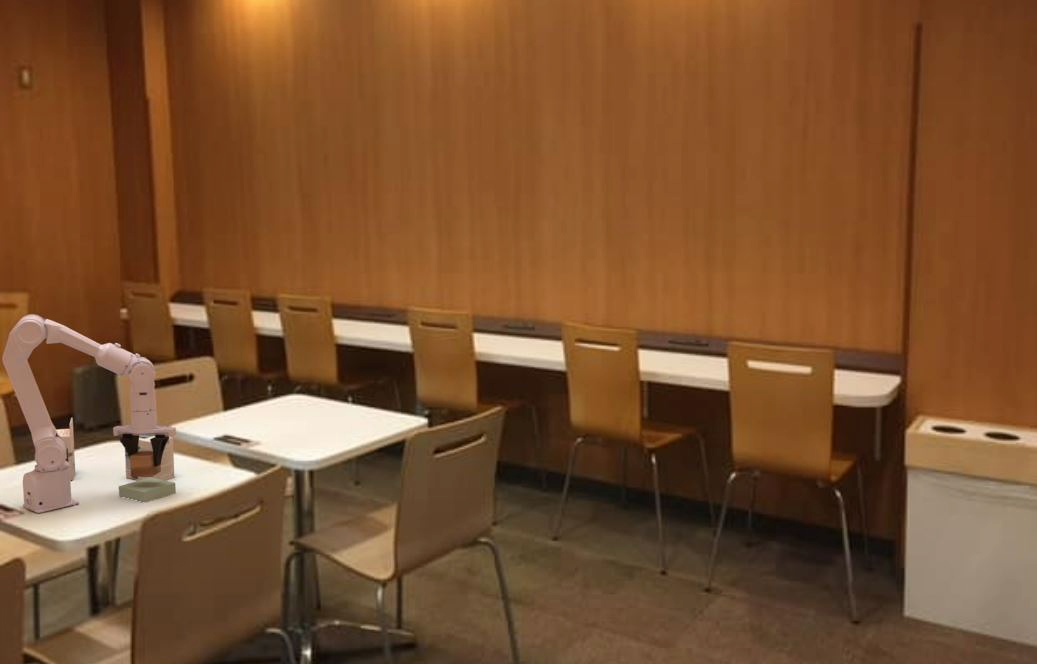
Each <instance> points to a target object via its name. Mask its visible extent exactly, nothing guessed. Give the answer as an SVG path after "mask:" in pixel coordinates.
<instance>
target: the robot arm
mask: <svg viewBox="0 0 1037 664" xmlns="http://www.w3.org/2000/svg"><path fill="white" fill-rule="evenodd" d="M45 339H46V344H47V345H50V344H59V343H61V344H64V345H66V346H68V347H70V348H73V349H75V350H77V351H79V352H82V353H84V354H87V355H89V356H92V357H94V360H95V362H96V364H97V366H99V367H102V368H103V369H106V370H109V371H111V372H112V373H115V374H117V375H119V376H121V377H128V379H129V381H130V390H129V403H130V422H131V423H130V424H131V425H117V426H114V427H113V428H112V430H113V436H114V437H117V436H121V438H120V439H119V441H120V444H121V445H122V446H123V448H124V450H125V449H126V451H127V453H128V456H129V459H130V456H131V455H133V454H135V453H137V452H138V443H139V436H155V437H154V438H152V439H150V441H151V445H152V449H153V460H154V467H157V466H159V465H161V460H162V455H163V452H164V449H165V446H166V444H167V442H168V440H169V437H173V438H174V437H175V436H176V435H177V431H176V429H177V428H176V426H173V427H172V426H165V425H158V415H157V412H158V411H157V395H156V394H157V390H156V389H155V386H156V384H155V383H156V382H155V379H156V376H157V372H156V370H155V366H154V363H153V362H151V361H150V360H149V359H147V357H145V356H144V357H143V356H141V355H140V354H139V353H135V354H134V353H133V352H130V351H128V350H126V349H124V348H123V347H122V348H121V346H122V345H121V343H117V342H115V343H111V342H107V343H104V344H101V343H98V342H97V341H94V340H92V339H91V338H89V337H87V336H84V335H83V334H81V333H79V332H77V331H75V330H74V329H71V328H69V327H68V326H66V325H63V324H61V323H59V322H56V321H54V320H51V319H48V318H43V317H42V316H40V315H38V314H33V313H32V314H27V315H24V316H23V317H21V318H20V319H19V320H18V321H17V323H16V324H15V325H14V327H13V328H12V330H11V331H10V332H9V334H8V337H7V341H6V345H5V348H4V351H3V353H2V354H3V355H2V357H1V358H2V359H1V360H2V363H3V366H4V369H5V371H6V373H7V375H8V376H7V377H8V378H9V381H10V384H11V386H12V388H13V391H14V393H15V397H16V398H17V401H18V403H19V406H20V408H21V411H22V414H23V416H24V418H25V421H26V423H27V426H28V428H29V431H30V433H31V438H32V439H31V440H32V442H33V443H32V444H33V445H34V449H35V453H34V461H35V463H36V464H35V465H34V469H33V470H32V471H28V472H25V473H24V474H23V476H22V477H23V478H22V489H23V490H22V491H23V504H22V506H23V508H26V509H28V510H30V511H32V512H35V513H37V514H39V513H40V514H41V513H44V512H49V511H54V510H57V509H58V510H59V509H62V508H66V507H71V506H74V505H79V504H80V501H78V500H76V499H74V498H73V497H72V486H71V481H70V466H69V463H68V462H67V461H66V460H65V459H66V451H67V444H66V442H65V440H64V439H63V438H62V437H60V436H59V434H58V433H57V431H56V430H57V429H56V426H55V425H54V423H53V422H52V420H51V419H52V418H51V417H50V414H49V412H48V410H47V407H46V404H45V401H44V398H43V397H42V393H41V392H40V389H39V386H38V384H37V382H36V379H35V376H34V374H33V371H32V369H31V366H30V363H29V362H28V359H29V357H30V356H31V355H32V352H33V350H34V349H36V348H37V347H38V346H39V345H41V344H42V342H43V341H44V340H45Z"/></svg>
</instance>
